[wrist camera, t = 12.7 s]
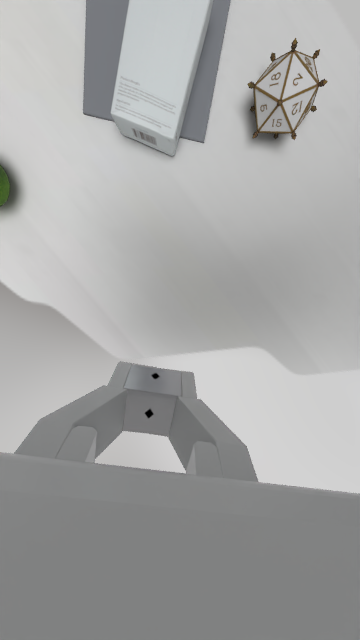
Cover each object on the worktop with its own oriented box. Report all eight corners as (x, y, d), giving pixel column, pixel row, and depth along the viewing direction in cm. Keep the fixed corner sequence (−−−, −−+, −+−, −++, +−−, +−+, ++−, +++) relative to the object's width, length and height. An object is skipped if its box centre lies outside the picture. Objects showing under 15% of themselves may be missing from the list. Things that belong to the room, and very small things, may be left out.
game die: (253, 115, 34) (263, 12, 24) (313, 115, 31) (350, 2, 22) (237, 162, 32) (242, 71, 23) (300, 166, 30) (334, 67, 20)
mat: (235, -30, 26) (236, -33, 26) (203, 142, 32) (204, 141, 31) (89, -74, 25) (88, -79, 24) (84, 114, 30) (83, 112, 30)
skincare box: (173, 158, 32) (212, 25, 27) (173, 140, 26) (223, -31, 22) (117, 133, 31) (148, -9, 26) (104, 109, 25) (141, -79, 21)
